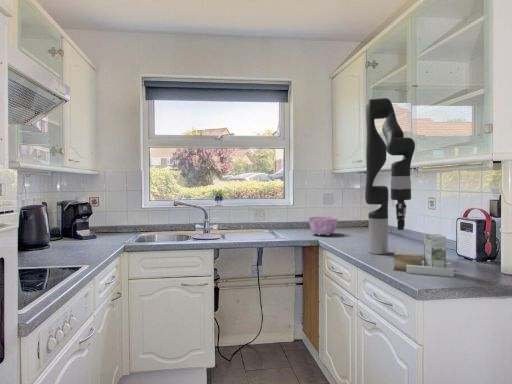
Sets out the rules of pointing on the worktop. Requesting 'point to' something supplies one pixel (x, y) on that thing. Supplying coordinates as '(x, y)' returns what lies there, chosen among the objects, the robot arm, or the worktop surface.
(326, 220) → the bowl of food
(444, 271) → the channel
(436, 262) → the syrup box
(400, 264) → the block
